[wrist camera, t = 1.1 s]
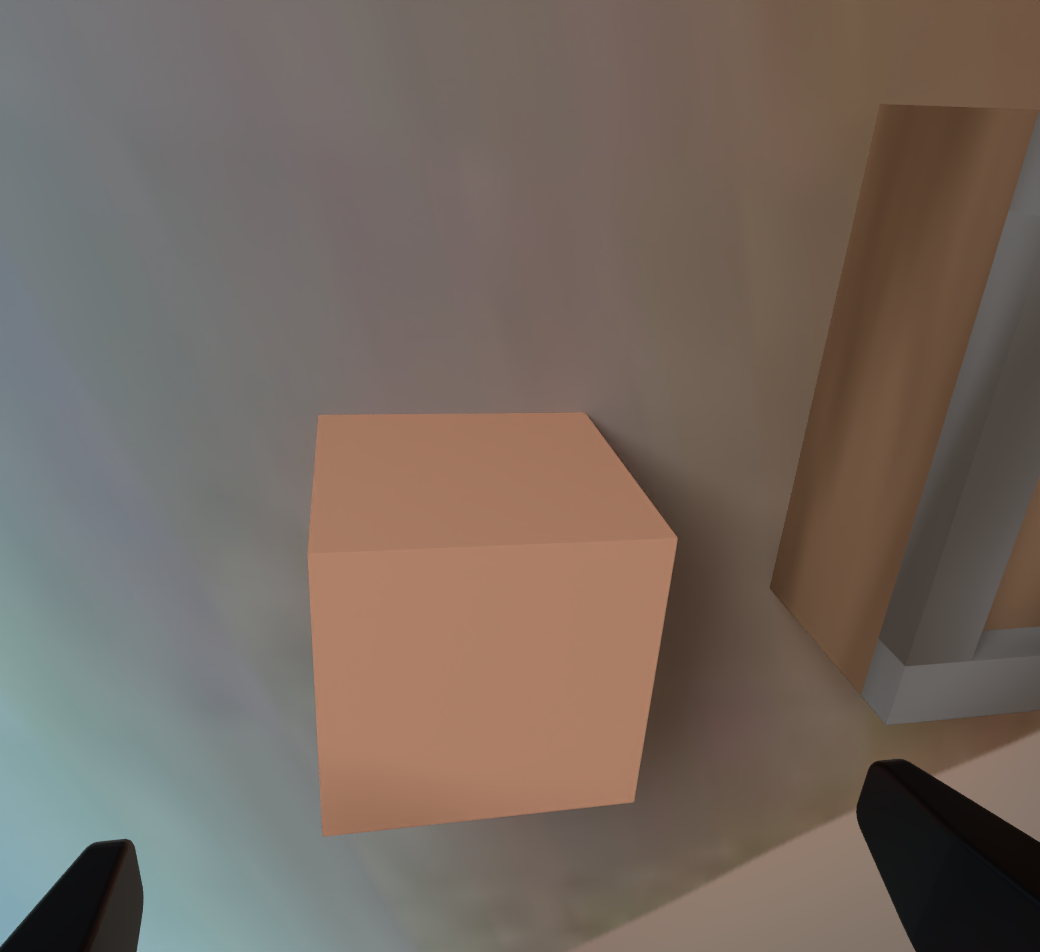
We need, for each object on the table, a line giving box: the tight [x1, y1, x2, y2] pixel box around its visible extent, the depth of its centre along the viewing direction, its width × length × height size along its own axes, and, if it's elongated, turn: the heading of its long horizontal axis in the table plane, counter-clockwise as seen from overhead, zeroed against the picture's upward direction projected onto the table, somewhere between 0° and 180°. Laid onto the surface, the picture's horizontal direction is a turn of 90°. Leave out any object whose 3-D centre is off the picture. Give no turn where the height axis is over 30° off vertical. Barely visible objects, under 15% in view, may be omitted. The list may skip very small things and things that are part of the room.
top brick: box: [308, 413, 678, 836], centre depth 14 cm, size 5×5×5 cm
